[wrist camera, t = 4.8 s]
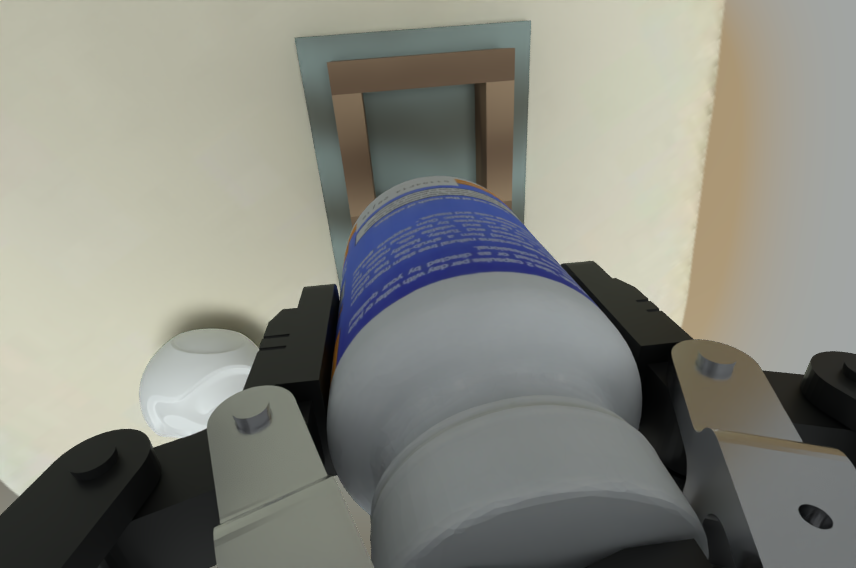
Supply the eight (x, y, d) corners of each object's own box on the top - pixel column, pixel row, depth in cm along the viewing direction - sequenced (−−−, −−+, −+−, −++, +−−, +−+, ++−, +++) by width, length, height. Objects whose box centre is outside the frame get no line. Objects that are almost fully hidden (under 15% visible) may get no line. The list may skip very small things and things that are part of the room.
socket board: (297, 38, 25) (234, 27, 13) (525, 21, 26) (650, -3, 14) (354, 356, 35) (346, 504, 24) (515, 336, 36) (583, 469, 25)
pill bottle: (307, 232, 13) (174, 594, 4) (474, 133, 12) (723, 332, 3) (404, 360, 15) (443, 755, 7) (547, 284, 14) (800, 621, 6)
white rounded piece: (242, 405, 36) (212, 488, 29) (149, 362, 33) (92, 441, 26) (297, 339, 34) (278, 412, 27) (202, 286, 31) (155, 352, 24)
